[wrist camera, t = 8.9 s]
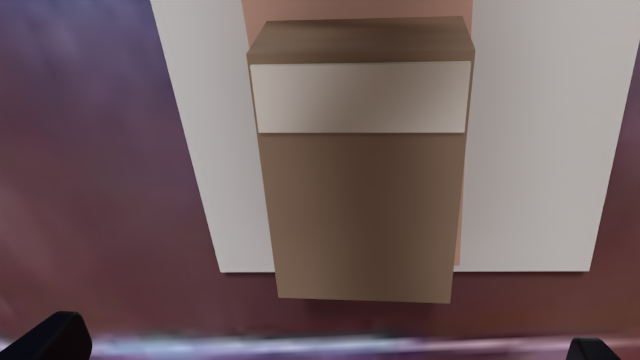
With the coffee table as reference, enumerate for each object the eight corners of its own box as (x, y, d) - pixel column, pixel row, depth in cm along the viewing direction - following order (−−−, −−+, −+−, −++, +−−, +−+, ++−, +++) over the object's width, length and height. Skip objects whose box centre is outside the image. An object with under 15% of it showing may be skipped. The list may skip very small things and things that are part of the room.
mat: (51, -417, 13) (36, -429, 12) (758, -554, 11) (779, -576, 10) (223, 264, 24) (219, 275, 23) (585, 262, 22) (590, 274, 21)
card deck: (290, 244, 22) (277, 300, 19) (266, 21, 17) (245, 56, 15) (442, 247, 21) (450, 306, 19) (461, 15, 16) (476, 51, 14)
